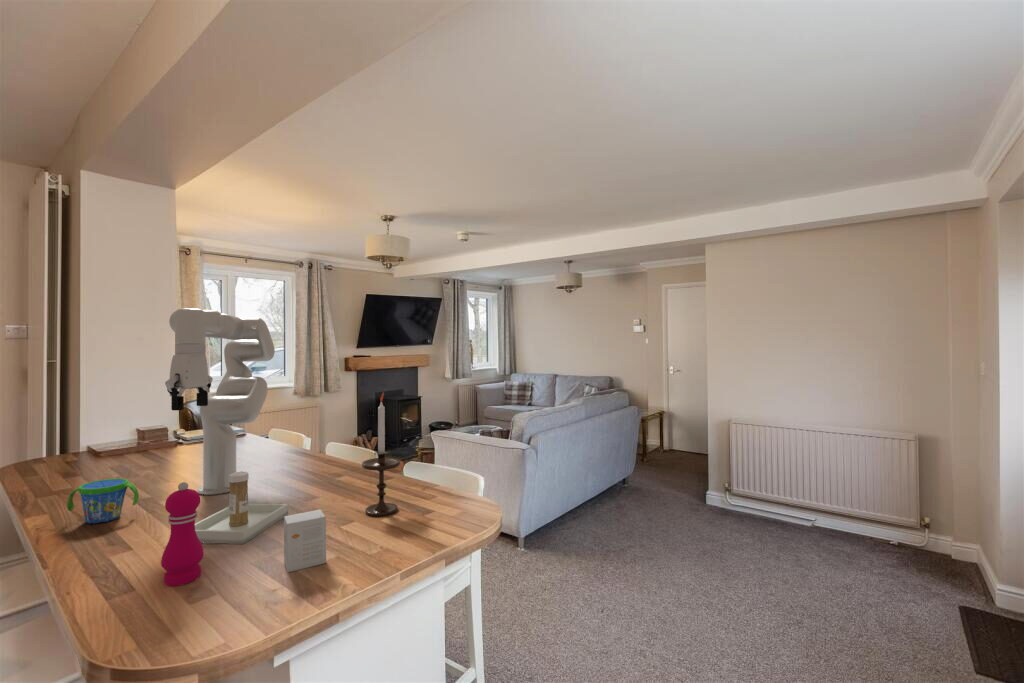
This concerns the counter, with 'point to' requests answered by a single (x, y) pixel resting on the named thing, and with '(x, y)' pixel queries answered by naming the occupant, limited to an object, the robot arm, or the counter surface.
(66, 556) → the counter surface
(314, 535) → the small box
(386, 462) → the candlestick
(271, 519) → the tray
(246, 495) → the sprinkles bottle
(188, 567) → the pepper mill
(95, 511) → the snack cup
